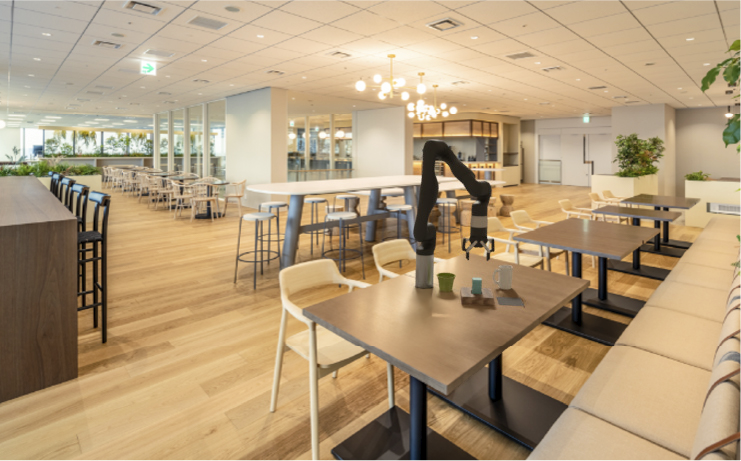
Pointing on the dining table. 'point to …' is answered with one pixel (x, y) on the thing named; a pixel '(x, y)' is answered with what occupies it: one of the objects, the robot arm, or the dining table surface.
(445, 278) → the plant pot
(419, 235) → the robot arm
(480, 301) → the pocket block
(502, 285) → the mug
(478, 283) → the peg
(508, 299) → the mat
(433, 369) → the dining table surface
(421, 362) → the dining table surface
